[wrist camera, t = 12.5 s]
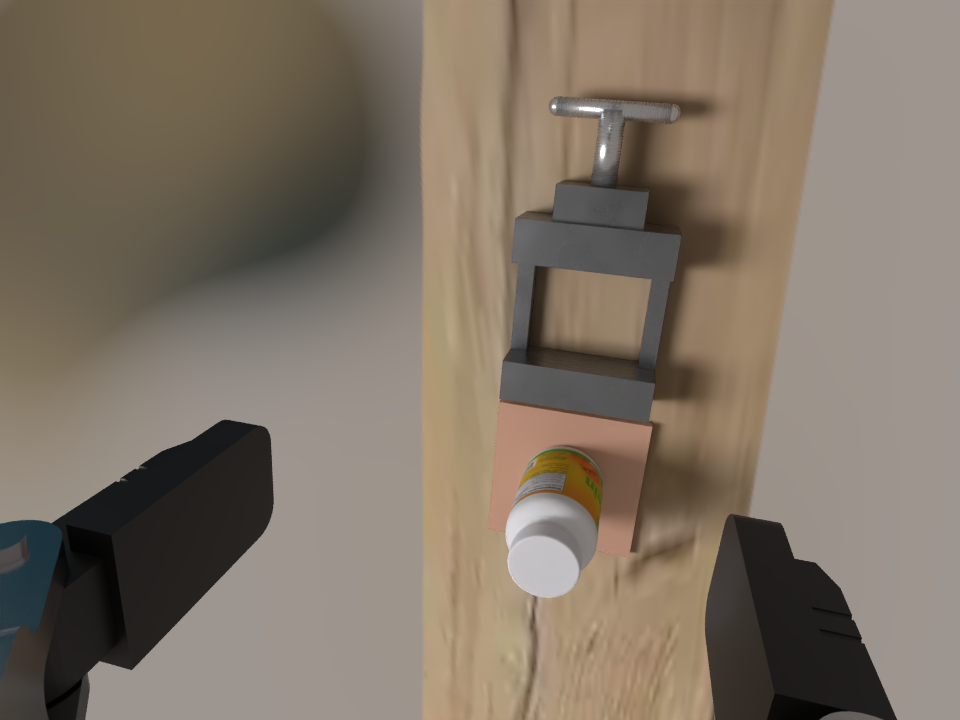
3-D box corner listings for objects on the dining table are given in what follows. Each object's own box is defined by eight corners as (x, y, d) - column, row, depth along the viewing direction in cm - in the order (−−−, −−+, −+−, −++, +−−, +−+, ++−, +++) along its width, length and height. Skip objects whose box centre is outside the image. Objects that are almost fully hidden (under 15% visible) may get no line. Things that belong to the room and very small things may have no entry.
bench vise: (536, 96, 37) (526, 92, 34) (699, 106, 35) (705, 104, 32) (510, 379, 43) (499, 398, 40) (648, 400, 41) (648, 422, 38)
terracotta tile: (501, 398, 43) (499, 402, 43) (652, 423, 41) (652, 426, 41) (490, 524, 47) (488, 528, 46) (629, 552, 45) (628, 557, 44)
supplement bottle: (611, 509, 43) (603, 606, 35) (535, 518, 45) (508, 612, 36) (594, 438, 42) (581, 519, 33) (516, 449, 44) (483, 530, 35)
